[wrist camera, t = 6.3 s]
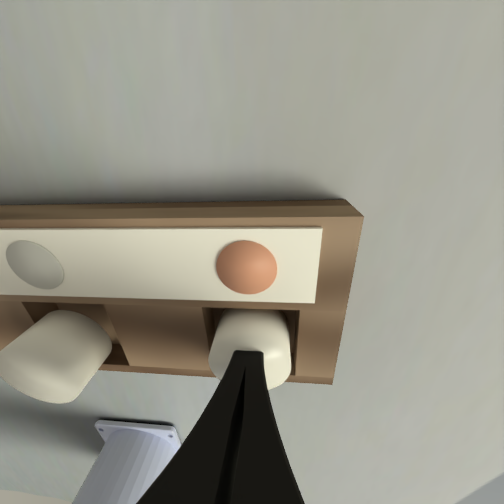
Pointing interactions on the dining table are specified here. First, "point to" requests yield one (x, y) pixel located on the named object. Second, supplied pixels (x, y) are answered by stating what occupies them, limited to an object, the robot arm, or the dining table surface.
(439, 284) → the dining table surface
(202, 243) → the pattern card
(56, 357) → the middle button
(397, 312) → the dining table surface
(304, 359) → the button board
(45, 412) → the dining table surface
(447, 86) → the dining table surface
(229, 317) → the end button
